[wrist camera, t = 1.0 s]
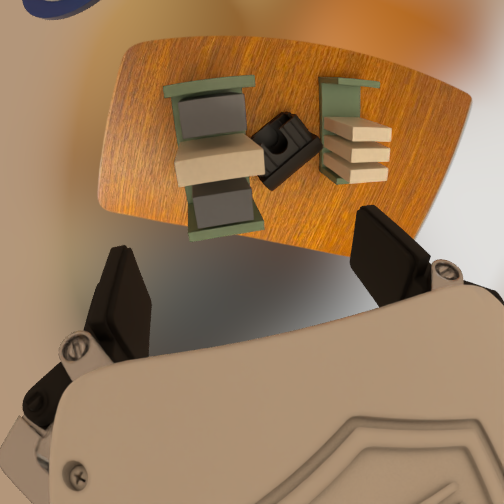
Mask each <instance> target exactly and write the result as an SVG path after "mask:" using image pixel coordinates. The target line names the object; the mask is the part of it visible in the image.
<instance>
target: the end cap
mask: <svg viewBox="0 0 504 504" xmlns="http://www.w3.org/2000/svg"><path fill="white" fill-rule="evenodd" d="M250 139H251V140H253V141H254V142H255V143H256V144H258V145H259V146H260V147H261V148H263V150H264V165H265V174H264V175H257V176H258V177H259V178H260V180H261V181H262V183H263V184H264V185H265V186H266V187H267V188H268V189H269V190H271V191H273V190H275V189H276V188H277V187H278V186H279V185H280V184H282V183H283V182H284V181H285V180H286V179H287V178H289V177H290V176H291V175H292V174H293V173H295V172H296V171H297V170H298V169H299V168H301V167H302V166H303V165H304V164H305V163H306V162H308V161H309V160H310V159H311V158H312V157H314V156H315V155H316V154H317V153H319V152H320V151H321V150H322V149H323V144H322V142H321V140H320V139H319V137H318V136H317V135H315V134H313V133H311V132H309V131H308V129H307V128H306V127H305V125H304V124H303V123H302V121H301V120H300V119H299V118H298V116H297V115H296V114H291V113H290V112H285V113H284V112H281V113H280V114H278V115H277V116H276V117H275V118H273V119H272V120H271V121H270V122H269V123H267V124H266V125H265V126H264V127H263V128H261V129H260V130H259V131H258V132H257V133H256V134H254V135H253V136H252V137H251V138H250Z"/></svg>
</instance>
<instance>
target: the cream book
mask: <svg viewBox="0 0 504 504" xmlns="http://www.w3.org/2000/svg"><path fill="white" fill-rule="evenodd" d="M174 165H175V170H176V176H177V182H178V187H184V186H190V185H195V184H201V183H207V182H214V181H220V180H227V179H234V178H241V177H248V176H256V175H264V174H265V165H264V150H263V148H261V147H260V146H259V145H258V144H256V143H255V142H254V141H253V140H251V139H250V138H249V137H247V136H246V135H245V134H244V133H239V134H231V135H223V136H216V137H209V138H202V139H196V140H190V141H184V142H180V144H179V147H178V151H177V154H176V157H175V161H174Z"/></svg>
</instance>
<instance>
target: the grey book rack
mask: <svg viewBox="0 0 504 504" xmlns="http://www.w3.org/2000/svg"><path fill="white" fill-rule="evenodd" d="M243 87H255V75H243V76H231V77H221V78H212V79H204V80H197V81H190V82H184V83H178V84H172V85H167V86H163V92H164V98H169V97H171V101H172V109H173V116H174V123H175V130H176V137H177V143H178V147H179V144H180V142H184V141H190V140H196V139H202V138H209V137H216V136H223V135H231V134H239V133H244V134H245V135H246V132H245V131H246V130H247V122H246V110H245V97H244V94H242V88H243ZM185 191H186V196H187V201H188V236H189V240H190V242H193V241H199V240H205V239H211V238H217V237H222V236H229V235H235V234H241V233H247V232H253V231H260V230H264V220H263V218H262V216H261V214H260V212H259V210H258V208H257V206H256V204H255V202H254V200H253V198H252V189H251V187H250V182H249V176H248V177H241V178H234V179H227V180H220V181H214V182H207V183H201V184H195V185H190V186H185Z"/></svg>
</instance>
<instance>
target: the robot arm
mask: <svg viewBox="0 0 504 504" xmlns="http://www.w3.org/2000/svg"><path fill="white" fill-rule="evenodd" d="M46 1H60V0H46ZM430 257H431V256H430V255H429V254H428V253H427V252H426V251H425V250H424V249H423V248H422V247H421V246H420V245H419V244H418V243H417V242H416V241H415V240H414V239H412V238H411V237H410V236H409V235H408V234H407V233H406V232H405V231H404V230H403V229H401V228H400V227H399V226H398V225H397V224H396V223H395V222H394V221H392V220H391V219H390V218H389V217H388V216H387V215H385V214H384V213H383V212H382V211H381V210H380V209H378V208H377V207H376V206H375V205H367V206H361V207H360V209H359V210H358V211H357V214H356V221H355V229H354V236H353V243H352V250H351V256H350V265H351V268H352V270H353V271H354V272H355V274H356V275H357V277H358V278H359V279H360V281H361V282H362V283H363V285H364V286H365V288H366V289H367V290H368V292H369V293H370V295H371V296H372V297H373V299H374V300H375V302H376V303H377V305H378V306H379V308H376V309H373V310H370V311H366V312H362V313H359V314H355V315H352V316H348V317H345V318H341V319H337V320H334V321H330V322H326V323H322V324H318V325H314V326H311V327H306V328H302V329H299V330H294V331H290V332H285V333H281V334H277V335H272V336H267V337H263V338H258V339H253V340H248V341H244V342H238V343H233V344H228V345H222V346H217V347H211V348H205V349H199V350H193V351H186V352H180V353H174V354H167V355H160V356H153V357H148V356H149V336H150V321H151V308H152V307H151V306H152V304H151V299H150V296H149V294H148V291H147V289H146V286H145V284H144V281H143V278H142V276H141V273H140V270H139V268H138V265H137V262H136V260H135V257H134V254H133V251H132V249H131V248H127V247H126V246H125V245H123V246H117V247H113V248H111V250H110V253H109V256H108V259H107V262H106V265H105V267H104V270H103V273H102V276H101V279H100V282H99V283H98V284H97V287H96V289H95V292H94V295H93V299H92V302H91V305H90V309H89V313H88V316H87V319H86V324H85V327H84V331H76V332H73V333H71V334H70V335H68V336H67V337H66V338H65V339H64V340H63V341H62V343H61V344H60V347H59V354H58V355H59V358H60V360H61V362H60V363H59V364H57V365H56V366H55V367H54V368H53V369H52V370H51V371H50V372H49V373H47V374H46V375H45V376H44V377H43V378H42V379H41V380H40V381H38V382H37V383H36V384H35V385H34V386H33V387H32V388H31V389H30V390H29V391H28V392H27V393H26V395H25V397H24V400H23V411H24V415H23V417H21V416H18V418H17V420H16V421H15V423H14V425H13V426H12V428H11V430H10V431H9V433H8V435H7V437H6V439H5V441H4V442H3V444H2V446H1V448H0V467H1V469H2V471H3V472H4V473H5V474H6V475H7V477H8V478H9V479H10V480H11V481H12V482H13V483H14V485H15V486H16V487H17V488H18V489H19V490H20V491H21V492H22V493H23V494H24V495H25V496H26V497H27V498H28V499H29V500H30V501H31V502H32V503H33V504H504V301H503V300H502V298H501V296H500V295H499V294H498V293H497V292H496V291H494V290H491V289H488V288H485V287H482V286H479V285H476V284H473V283H471V282H468V281H465V280H463V275H462V272H461V270H460V269H459V267H457V266H456V265H455V264H454V263H452V262H450V261H447V260H442V259H440V260H436V261H434V262H433V263H432V265H431V264H430V263H429V260H430Z"/></svg>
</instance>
